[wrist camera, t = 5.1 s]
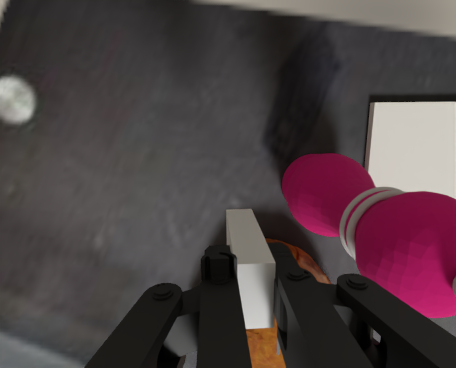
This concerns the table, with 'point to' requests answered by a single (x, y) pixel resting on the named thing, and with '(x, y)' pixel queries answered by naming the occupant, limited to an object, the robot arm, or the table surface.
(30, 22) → the table surface
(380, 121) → the white mat
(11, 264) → the table surface
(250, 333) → the croissant
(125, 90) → the table surface
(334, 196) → the pepper mill
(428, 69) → the table surface
